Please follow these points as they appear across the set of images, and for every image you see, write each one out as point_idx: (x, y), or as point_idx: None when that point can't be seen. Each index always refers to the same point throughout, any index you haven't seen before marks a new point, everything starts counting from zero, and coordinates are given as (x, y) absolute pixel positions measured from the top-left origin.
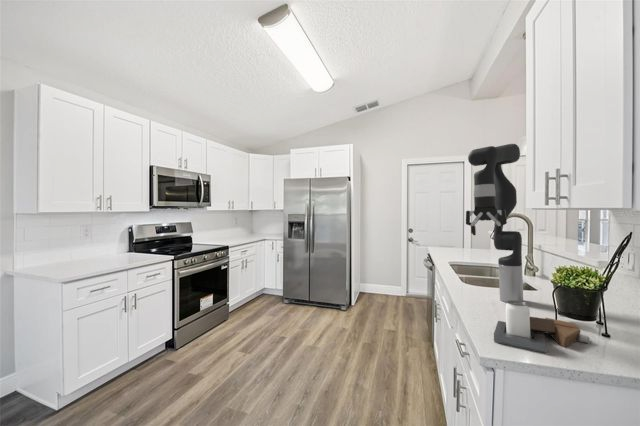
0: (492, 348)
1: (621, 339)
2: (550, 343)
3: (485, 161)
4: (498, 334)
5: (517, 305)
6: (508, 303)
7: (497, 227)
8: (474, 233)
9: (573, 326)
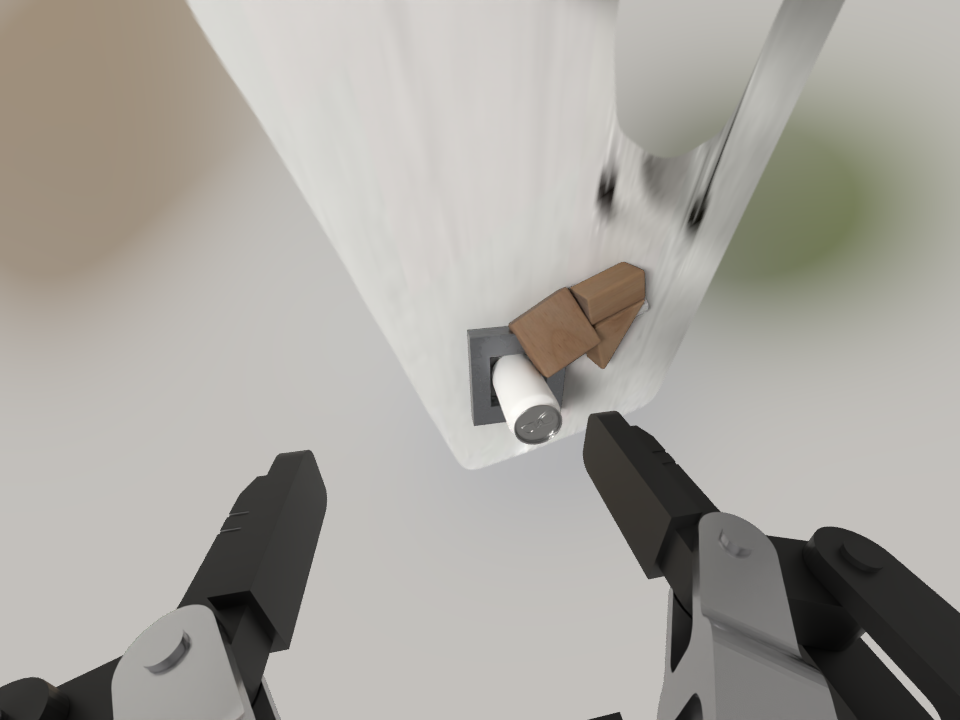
0: (473, 441)
1: (717, 227)
2: None
3: None
4: (482, 421)
5: (539, 443)
6: (518, 438)
7: (643, 560)
8: (319, 523)
9: (636, 298)
